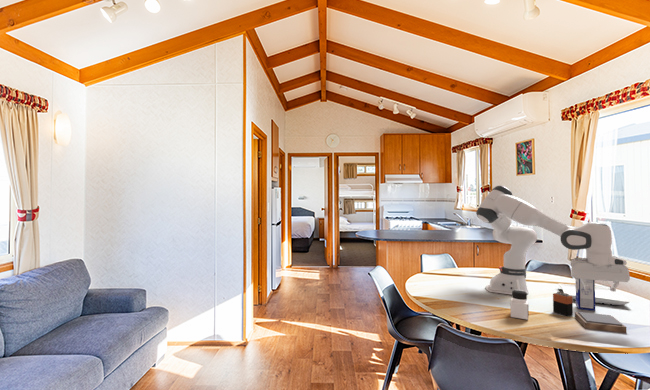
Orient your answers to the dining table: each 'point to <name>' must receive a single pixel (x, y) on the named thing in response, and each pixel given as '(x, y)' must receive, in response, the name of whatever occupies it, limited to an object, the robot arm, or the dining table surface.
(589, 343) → the dining table surface
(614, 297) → the square plate
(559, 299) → the battery
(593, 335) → the dining table surface
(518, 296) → the medicine bottle
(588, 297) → the milk carton
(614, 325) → the wooden square tray
